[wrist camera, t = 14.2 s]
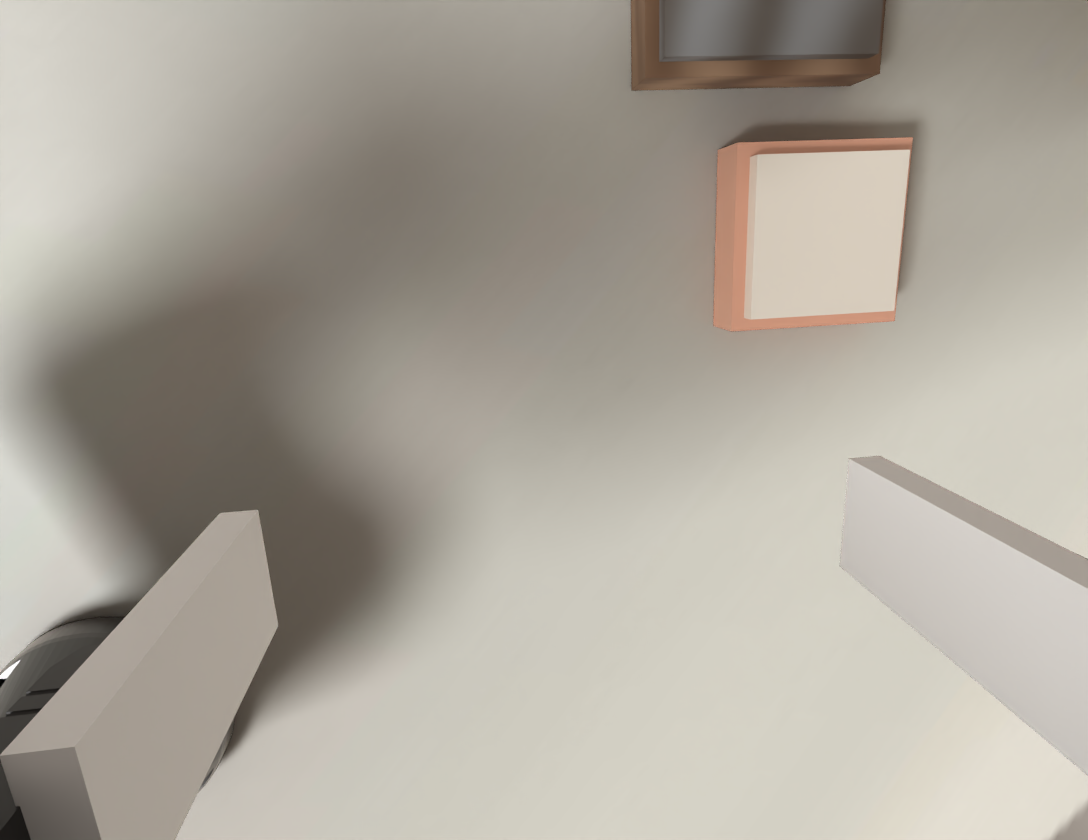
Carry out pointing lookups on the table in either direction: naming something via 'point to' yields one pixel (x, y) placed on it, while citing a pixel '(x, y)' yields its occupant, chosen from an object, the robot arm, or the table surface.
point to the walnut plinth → (754, 43)
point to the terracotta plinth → (809, 232)
